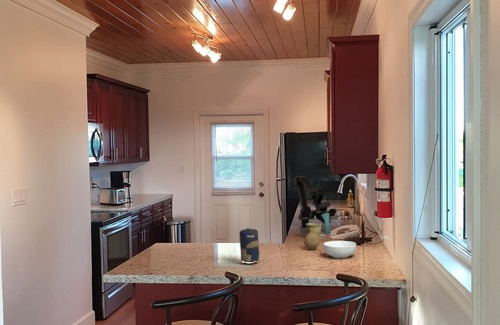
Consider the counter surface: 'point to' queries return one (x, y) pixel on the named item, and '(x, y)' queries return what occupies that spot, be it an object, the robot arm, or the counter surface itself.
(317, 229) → the ceramic cup
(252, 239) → the canister
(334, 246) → the cereal bowl
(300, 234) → the walnut base
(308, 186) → the robot arm
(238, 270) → the counter surface
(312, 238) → the natural sponge
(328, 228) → the teal post
